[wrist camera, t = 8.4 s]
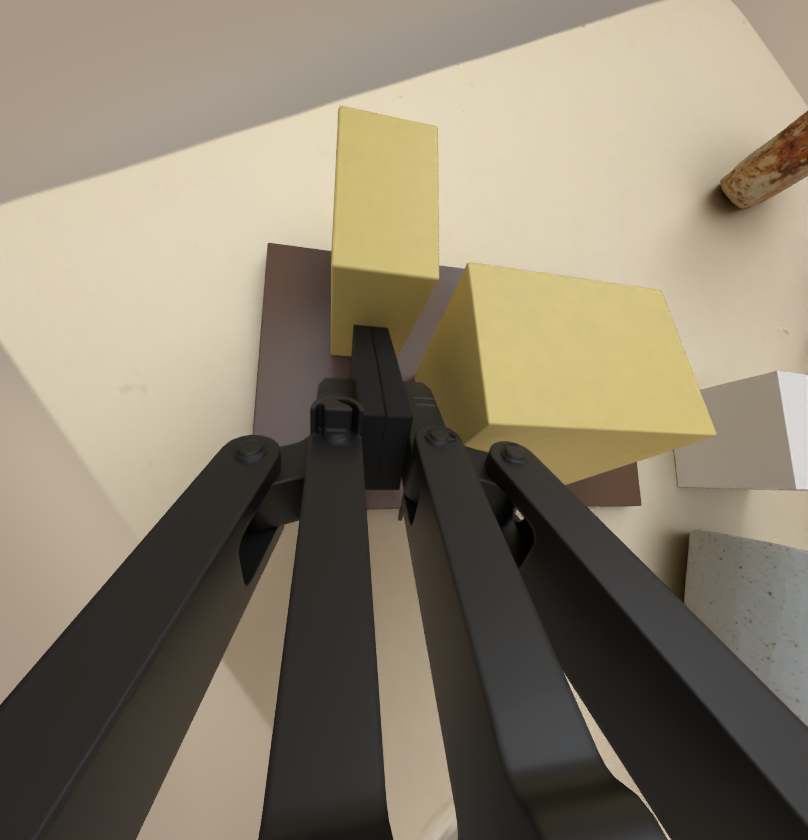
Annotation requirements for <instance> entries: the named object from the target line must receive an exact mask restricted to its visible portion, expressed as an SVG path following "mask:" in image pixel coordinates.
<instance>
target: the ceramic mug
mask: <svg viewBox="0 0 808 840" xmlns="http://www.w3.org/2000/svg"><path fill="white" fill-rule="evenodd" d="M684 604H685V605H686V606H687V607H688V608H689V609H690V610H691V611H692V612H693V613H694V614H695V615H696V616H697V617H698V618H699V619H700V620H701V621H702V622H703V623H704V624H705V625H706V626H707V627H708V628H709V629H710V630H711V631H712V632H713V633H714V634H715V635H716V636H717V637H718V638H719V639H720V640H721V641H722V642H723V643H724V644H725V645H726V646H727V647H728V648H729V649H730V650H731V651H732V652H733V653H734V654H735V655H736V656H737V657H738V658H739V659H740V660H741V661H742V662H743V663H744V664H745V665H746V666H747V667H748V668H749V669H750V670H751V671H752V672H753V673H754V674H755V675H756V676H757V677H758V678H759V679H760V680H761V681H762V682H763V683H764V684H765V685H766V686H767V687H768V688H769V689H770V690H771V691H772V692H773V693H774V694H775V695H776V696H777V697H778V698H779V699H780V700H781V701H782V702H783V703H784V704H785V705H786V706H787V707H788V708H789V709H790V710H791V711H792V712H793V713H794V714H795V715H796V716H797V717H798V718H799V719H800V720H801V721H802V722H803V723H804V724H805V725H806V726H807V727H808V551H805V550H799V549H796V548H792V547H788V546H784V545H779V544H774V543H769V542H764V541H758V540H754V539H749V538H744V537H738V536H732V535H728V534H721V533H717V532H710V531H701V530H694V531H691V533H690V536H689V550H688V561H687V571H686V583H685V597H684Z"/></svg>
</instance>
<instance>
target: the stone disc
mask: <svg viewBox="0 0 808 840" xmlns="http://www.w3.org/2000/svg"><path fill="white" fill-rule="evenodd" d="M807 176H808V111H807V112H805V113H804V114H803V115H802V116H800V117H799V118H798V119H797V120H796V121H794V122H793V123H792V124H790V125H789V126H788V127H787V128H786V129H784V130H783V131H781V132H780V133H779V134H777V135H776V136H775V137H774V138H772V139H771V140H770V141H768V142H767V143H766V144H764V145H763V146H761V147H760V148H759V149H757V150H756V151H754V152H753V153H752V154H751V155H749V156H748V157H747V158H746V159H745V160H743V161H742V162H741V163H739V164H738V165H737V166H736V167H735V169H733V170H732V171H731V172H730V173H729V174H728V175H727V176H725V177H724V178H723V179H722V180H721V181H720V185H721V188H722V191H723V192H724V194H725V195H726V196H727V197H728V198H729V200H730V201H731V202H732V203H734V204H735V205H736V206H738V207H739V208H742V209H745V208H749V207H751V206H754V205H756V204H758V203H760V202H763V201H765V200H766V199H768V198H770V197H772V196H774V195H776V194H778V193H779V192H781V191H783V190H785V189H787V188H788V187H790V186H792V185H793V184H795V183H797V182H798V181H800V180H802V179H803V178H805V177H807Z"/></svg>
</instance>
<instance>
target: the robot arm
mask: <svg viewBox="0 0 808 840" xmlns="http://www.w3.org/2000/svg"><path fill="white" fill-rule="evenodd" d="M401 478H402V482H403V487H404V491H403V496H402V501H401V506H400V510H399V517H398V521H401V520H402V517H403V514H404V519H405V525H406V531H407V536H408V542H409V548H410V554H411V559H412V565H413V571H414V576H415V582H416V588H417V594H418V599H419V605H420V611H421V616H422V622H423V628H424V634H425V639H426V645H427V651H428V656H429V662H430V668H431V673H432V679H433V685H434V691H435V696H436V702H437V708H438V713H439V719H440V725H441V731H442V736H443V742H444V748H445V753H446V759H447V765H448V771H449V776H450V782H451V788H452V793H453V799H454V805H455V811H456V818H457V827H458V840H667V838H666V836H665V834H664V833H663V831H662V829H661V827H660V826H659V824H658V822H657V820H656V819H655V817H654V815H653V814H652V813H651V812H650V810H649V809H648V808H647V807H646V805H645V804H644V803H643V801H642V800H641V799H640V798H639V796H638V795H637V794H635V793H634V792H633V791H632V790H630V789H629V788H628V787H626V786H625V785H624V784H623V783H621V782H620V781H619V780H617V779H616V778H615V777H614V776H613V775H612V773H611V772H610V771H609V770H608V768H607V767H606V765H605V764H604V762H603V760H602V758H601V756H600V754H599V752H598V750H597V748H596V745H595V743H594V741H593V738H592V736H591V734H590V732H589V729H588V727H587V725H586V723H585V720H584V718H583V716H582V713H581V711H580V709H579V707H578V704H577V702H576V700H575V697H574V695H573V693H572V691H571V688H570V686H569V684H568V682H567V679H566V677H565V675H566V676H567V678H568V679H569V681H570V683H571V684H572V686H573V687H574V689H575V690H576V692H577V693H578V695H579V697H580V698H581V700H582V701H583V703H584V704H585V706H586V707H587V709H588V711H589V712H590V714H591V715H592V717H593V718H594V720H595V721H596V723H597V725H598V726H599V728H600V729H601V731H602V732H603V734H604V736H605V737H606V739H607V740H608V742H609V743H610V745H611V746H612V748H613V750H614V751H615V753H616V754H617V756H618V757H619V759H620V760H621V762H622V764H623V765H624V767H625V768H626V770H627V771H628V773H629V774H630V776H631V778H632V779H633V781H634V782H635V784H636V785H637V787H638V788H639V790H640V792H641V793H642V795H643V796H644V798H645V799H646V801H647V802H648V804H649V806H650V807H651V809H652V810H653V812H654V813H655V815H656V817H657V818H658V820H659V821H660V823H661V824H662V826H663V827H664V829H665V831H666V832H667V834H668V835H669V837H670V838H671V840H808V727H807V726H806V725H805V724H804V723H803V722H802V721H801V720H800V719H799V718H798V717H797V716H796V715H795V714H794V713H793V712H792V711H791V710H790V709H789V708H788V707H787V706H786V705H785V704H784V703H783V702H782V701H781V700H780V699H779V698H778V697H777V696H776V695H775V694H774V693H773V692H772V691H771V690H770V689H769V688H768V687H767V686H766V685H765V684H764V683H763V682H762V681H761V680H760V679H759V678H758V677H757V676H756V675H755V674H754V673H753V672H752V671H751V670H750V669H749V668H748V667H747V666H746V665H745V664H744V663H743V662H742V661H741V660H740V659H739V658H738V657H737V656H736V655H735V654H734V653H733V652H732V651H731V650H730V649H729V648H728V647H727V646H726V645H725V644H724V643H723V642H722V641H721V640H720V639H719V638H718V637H717V636H716V635H715V634H714V633H713V632H712V631H711V630H710V629H709V628H708V627H707V626H706V625H705V624H704V623H703V622H702V621H701V620H700V619H699V618H698V617H697V616H696V615H695V614H694V613H693V612H692V611H691V610H690V609H689V608H688V607H687V606H686V605H685V604H684V603H683V602H682V601H681V600H680V599H679V598H678V597H677V596H676V595H675V594H674V593H673V592H672V591H671V590H670V589H669V588H668V587H667V586H666V585H665V584H664V583H663V582H662V581H661V580H660V579H659V578H658V577H657V576H656V575H655V574H654V573H653V572H652V571H651V570H650V569H649V568H648V567H647V566H646V565H645V564H644V563H643V562H642V561H641V560H640V559H639V558H638V557H637V556H636V555H635V554H634V553H633V552H632V551H631V550H630V549H629V548H628V547H627V546H626V545H625V544H624V543H623V542H622V541H621V540H620V539H619V538H618V537H617V536H616V535H615V534H614V533H613V532H612V531H611V530H610V529H609V528H608V527H607V526H606V525H605V524H604V523H603V522H602V521H601V520H600V519H599V518H598V517H597V516H595V515H594V514H593V513H592V512H591V511H590V510H589V509H588V508H587V507H586V506H585V505H584V504H583V503H582V502H581V501H580V500H579V499H578V498H577V497H576V496H575V495H574V494H573V493H572V492H571V491H570V490H569V489H568V488H567V487H566V486H565V485H564V484H563V483H562V482H561V481H560V480H559V479H558V478H557V477H556V476H555V475H554V474H553V473H552V472H551V471H550V470H549V469H548V468H547V467H546V466H545V465H544V464H543V463H542V462H541V461H540V460H539V459H538V458H537V457H536V456H535V455H534V454H533V453H532V452H531V451H530V450H528V449H527V448H526V447H524V446H521V445H519V444H517V443H514V442H509V441H499V442H496V443H494V444H493V445H492V446H491V447H490V449H489V452H486V451H482V450H478V449H474V448H470V447H467V446H465V445H464V444H463V442H462V440H461V438H460V437H459V435H458V434H457V433H456V432H454V431H453V430H451V429H450V428H447V427H446V426H445V423H444V421H443V418H442V416H441V413H440V411H439V408H438V407H437V403H436V401H435V400H434V396H433V393H432V391H431V389H429V388H428V387H427V386H426V385H425V384H424V383H422V382H406V381H403V379H402V375H401V372H400V368H399V365H398V361H397V358H396V354H395V351H394V347H393V344H392V340H391V337H390V333H389V330H388V328H385V327H374V326H363V325H353V339H352V354H351V369H350V379H342V378H326V377H325V378H324V379H323V380H322V381H321V382H320V383H319V384H318V392H317V400H316V401H315V402H313V404H312V405H311V407H310V435H309V436H308V437H306V438H305V439H304V440H302V441H300V442H297V443H294V444H290V445H286V446H280V447H279V445H278V443H277V442H276V441H274V440H273V439H272V438H269V437H266V436H263V435H248V436H242V437H239V438H236V439H234V440H231V441H230V442H228V443H227V444H226V445H225V446H223V447H222V448H221V450H220V451H219V452H218V453H217V454H216V455H215V457H214V458H213V459H212V460H211V461H210V462H209V464H208V465H207V466H206V467H205V468H204V469H203V470H202V472H201V473H200V474H199V475H198V476H197V477H196V479H195V480H194V481H193V482H192V483H191V484H190V486H189V487H188V488H187V489H186V490H185V491H184V493H183V494H182V495H181V496H180V497H179V498H178V499H177V501H176V502H175V503H174V504H173V505H172V506H171V508H170V509H169V510H168V511H167V512H166V513H165V515H164V516H163V517H162V518H161V519H160V520H159V521H158V523H157V524H156V525H155V526H154V527H153V528H152V530H151V531H150V532H149V533H148V534H147V535H146V537H145V538H144V539H143V540H142V541H141V542H140V544H139V545H138V546H137V547H136V548H135V549H134V551H133V552H132V553H131V554H130V555H129V556H128V557H127V559H126V560H125V561H124V562H123V563H122V564H121V566H120V567H119V568H118V569H117V570H116V571H115V573H114V574H113V575H112V576H111V577H110V578H109V579H108V581H107V582H106V583H105V584H104V585H103V586H102V588H101V589H100V590H99V591H98V592H97V594H96V595H95V596H94V597H93V598H92V599H91V600H90V602H89V603H88V604H87V605H86V606H85V607H84V609H83V610H82V611H81V612H80V613H79V614H78V616H77V617H76V618H75V619H74V620H73V621H72V622H71V624H70V625H69V626H68V627H67V628H66V629H65V630H64V632H63V633H62V634H61V635H60V636H59V638H58V639H57V640H56V641H55V642H54V643H53V645H52V646H51V647H50V648H49V649H48V650H47V651H46V653H45V654H44V655H43V656H42V657H41V658H40V659H39V661H38V662H37V663H36V664H35V665H34V666H33V668H32V669H31V670H30V671H29V672H28V673H27V675H26V676H25V677H24V678H23V679H22V680H21V682H20V683H19V684H18V685H17V686H16V687H15V688H14V690H13V691H12V692H11V693H10V694H9V695H8V697H7V698H6V699H5V700H4V701H3V703H2V704H1V705H0V840H136V838H137V836H138V834H139V831H140V829H141V827H142V825H143V823H144V821H145V819H146V817H147V815H148V813H149V811H150V808H151V806H152V804H153V802H154V800H155V798H156V796H157V794H158V791H159V789H160V787H161V785H162V783H163V781H164V779H165V777H166V775H167V773H168V770H169V768H170V766H171V764H172V762H173V760H174V758H175V756H176V754H177V752H178V750H179V747H180V745H181V743H182V741H183V739H184V737H185V735H186V733H187V730H188V729H189V726H190V724H191V722H192V720H193V718H194V716H195V714H196V712H197V710H198V708H199V705H200V703H201V701H202V699H203V697H204V695H205V693H206V691H207V689H208V687H209V684H210V682H211V680H212V678H213V676H214V674H215V672H216V670H217V668H218V666H219V663H220V661H221V659H222V657H223V655H224V653H225V651H226V649H227V647H228V645H229V642H230V640H231V638H232V636H233V634H234V632H235V630H236V628H237V626H238V623H239V621H240V619H241V617H242V615H243V613H244V611H245V609H246V607H247V605H248V602H249V600H250V598H251V596H252V594H253V592H254V590H255V588H256V586H257V584H258V581H259V579H260V577H261V575H262V573H263V571H264V569H265V567H266V565H267V563H268V560H269V558H270V556H271V554H272V552H273V550H274V548H275V546H276V544H277V542H278V539H279V537H280V535H281V533H282V531H283V529H284V524H288V523H291V522H295V521H298V520H299V528H298V536H297V544H296V552H295V560H294V568H293V576H292V584H291V591H290V599H289V607H288V615H287V623H286V631H285V639H284V647H283V655H282V663H281V670H280V678H279V686H278V694H277V702H276V710H275V718H274V726H273V734H272V741H271V750H270V758H269V766H268V773H267V781H266V789H265V797H264V805H263V812H262V819H261V826H260V832H259V838H258V840H393V836H392V832H391V827H390V823H389V818H388V810H387V801H386V790H385V775H384V760H383V746H382V731H381V716H380V701H379V686H378V671H377V657H376V642H375V627H374V612H373V597H372V582H371V568H370V553H369V538H368V523H367V508H366V493H365V490H399V489H400V484H401ZM517 509H518V510H519V512H520V513H521V514H522V515H523V517H524V519H523V520H521V519H520V518H518V517H517V515H516V514H515V512H516V510H517ZM564 673H565V675H564Z"/></svg>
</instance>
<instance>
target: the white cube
mask: <svg viewBox="0 0 808 840" xmlns="http://www.w3.org/2000/svg"><path fill="white" fill-rule="evenodd" d="M700 392H701V394H702V397H703V400H704V402H705V405H706V407H707V410H708V413H709V415H710V418H711V420H712V423H713V426H714V428H715V431H716V433H717V435H716V436H714V437H711V438H708V439H705V440H702V441H699V442H696V443H693V444H690V445H686V446H683V447H680V448H677V449H674V453H675V463H676V472H677V482H678V487H694V488H723V489H751V490H797V491H808V375H805V374H797V373H789V372H781V371H775V372H771V373H767V374H763V375H759V376H755V377H751V378H747V379H742V380H738V381H734V382H730V383H726V384H722V385H718V386H714V387H710V388H706V389H702V390H700Z"/></svg>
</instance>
